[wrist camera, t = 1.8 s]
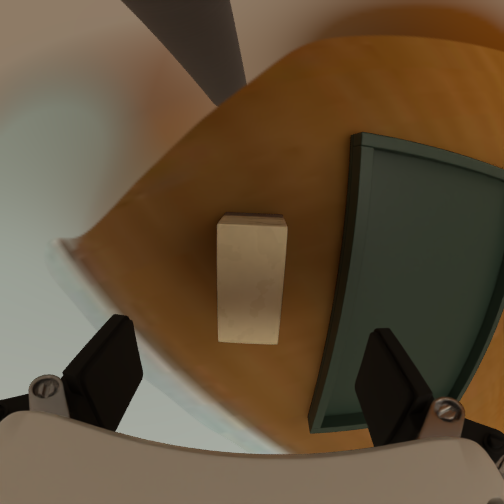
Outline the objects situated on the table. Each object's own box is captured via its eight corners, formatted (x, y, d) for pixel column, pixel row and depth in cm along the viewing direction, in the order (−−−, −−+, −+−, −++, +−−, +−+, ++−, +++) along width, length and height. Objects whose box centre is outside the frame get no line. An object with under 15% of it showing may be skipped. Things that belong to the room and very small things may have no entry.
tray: (350, 134, 16) (361, 131, 14) (514, 177, 15) (530, 180, 13) (307, 417, 23) (309, 433, 21) (447, 396, 22) (455, 408, 20)
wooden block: (225, 212, 17) (216, 223, 14) (282, 214, 17) (287, 227, 14) (224, 312, 19) (218, 342, 16) (275, 315, 19) (277, 345, 16)
